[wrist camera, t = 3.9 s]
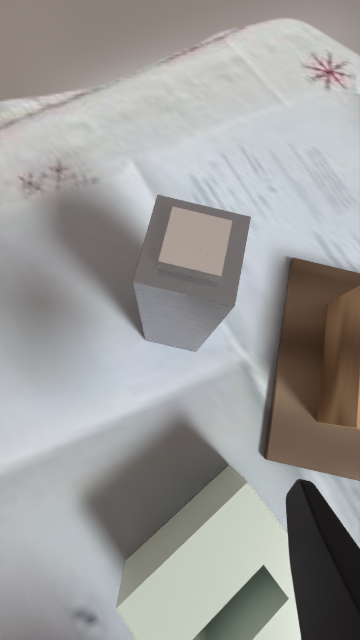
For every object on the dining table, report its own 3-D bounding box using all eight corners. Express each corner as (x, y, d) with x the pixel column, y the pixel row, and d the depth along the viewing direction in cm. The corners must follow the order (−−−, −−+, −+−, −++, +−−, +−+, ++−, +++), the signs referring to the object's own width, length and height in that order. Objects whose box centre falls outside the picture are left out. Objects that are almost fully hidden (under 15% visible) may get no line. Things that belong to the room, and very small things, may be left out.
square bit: (195, 351, 23) (238, 301, 11) (145, 340, 23) (131, 275, 11) (205, 303, 24) (255, 208, 12) (157, 292, 24) (157, 184, 12)
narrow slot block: (214, 694, 18) (232, 790, 13) (125, 560, 19) (115, 608, 15) (316, 578, 20) (361, 630, 15) (229, 464, 21) (247, 482, 17)
